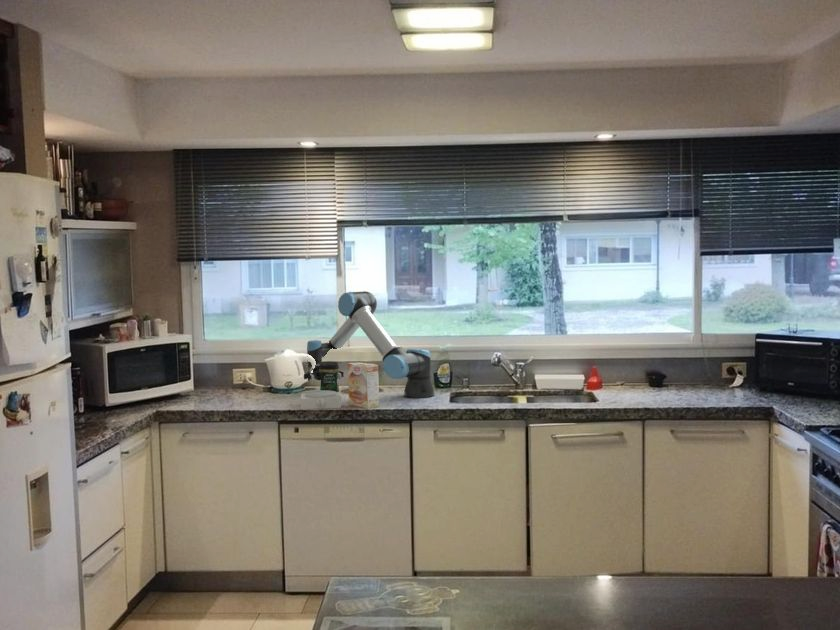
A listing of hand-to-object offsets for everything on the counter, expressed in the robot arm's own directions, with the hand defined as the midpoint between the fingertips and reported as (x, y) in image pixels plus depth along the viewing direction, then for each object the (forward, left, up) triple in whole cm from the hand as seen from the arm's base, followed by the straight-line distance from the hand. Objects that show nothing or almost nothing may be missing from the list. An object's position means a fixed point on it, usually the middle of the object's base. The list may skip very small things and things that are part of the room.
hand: (327, 377), depth 376 cm
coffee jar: (-3, +2, -11) cm, 11 cm away
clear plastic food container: (-11, +19, -10) cm, 24 cm away
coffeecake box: (-29, +10, -11) cm, 32 cm away
